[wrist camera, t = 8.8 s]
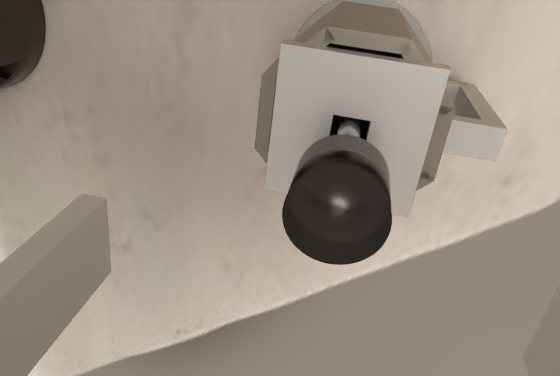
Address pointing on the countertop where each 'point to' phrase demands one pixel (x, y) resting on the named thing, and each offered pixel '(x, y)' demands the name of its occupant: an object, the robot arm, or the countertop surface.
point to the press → (370, 98)
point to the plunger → (340, 193)
